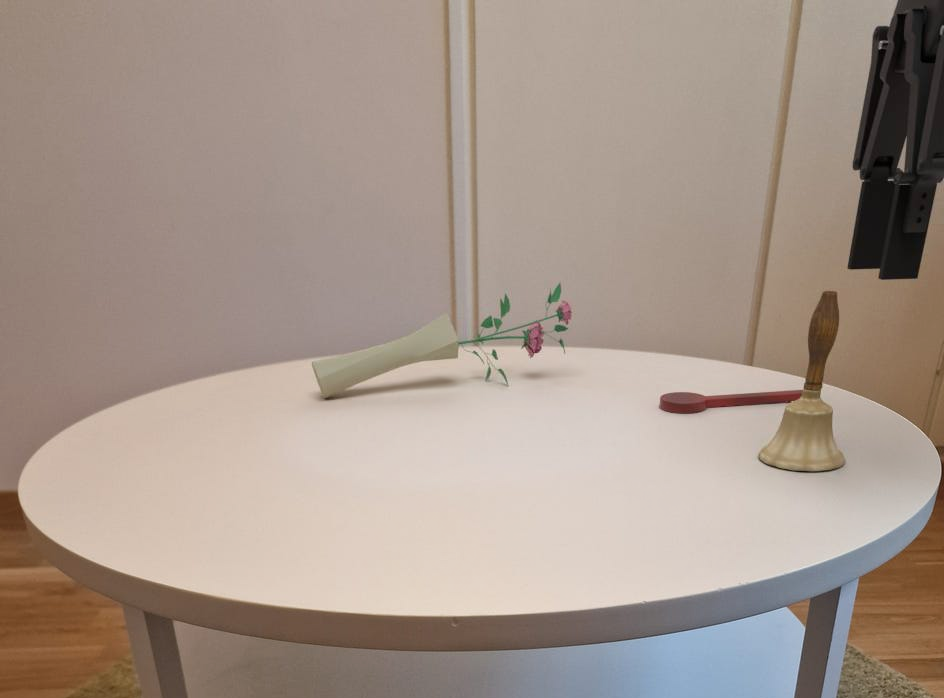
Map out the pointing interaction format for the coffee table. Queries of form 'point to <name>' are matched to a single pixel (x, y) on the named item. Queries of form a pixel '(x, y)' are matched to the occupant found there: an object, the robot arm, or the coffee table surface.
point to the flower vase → (426, 349)
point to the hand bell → (810, 405)
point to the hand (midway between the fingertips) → (880, 272)
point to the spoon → (721, 400)
